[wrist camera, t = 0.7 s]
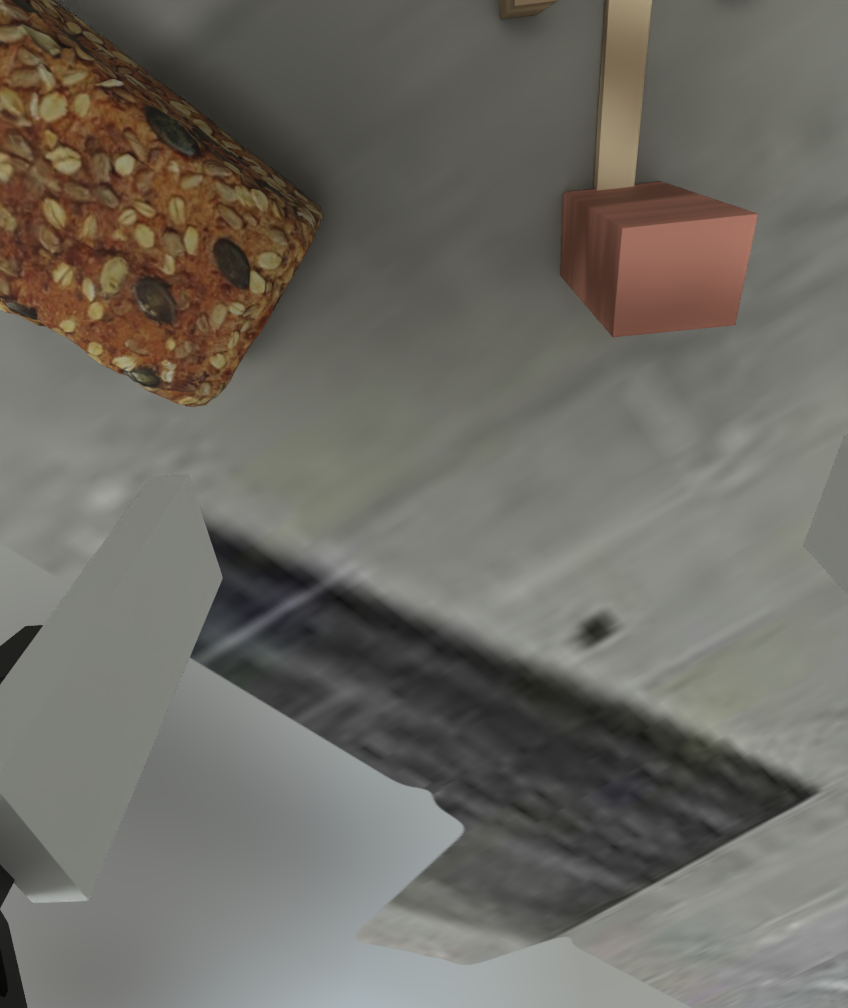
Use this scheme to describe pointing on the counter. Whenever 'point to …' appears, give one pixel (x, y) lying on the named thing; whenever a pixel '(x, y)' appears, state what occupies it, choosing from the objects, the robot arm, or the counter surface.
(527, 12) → the frame
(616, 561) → the counter surface
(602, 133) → the tethered block
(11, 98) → the bread
